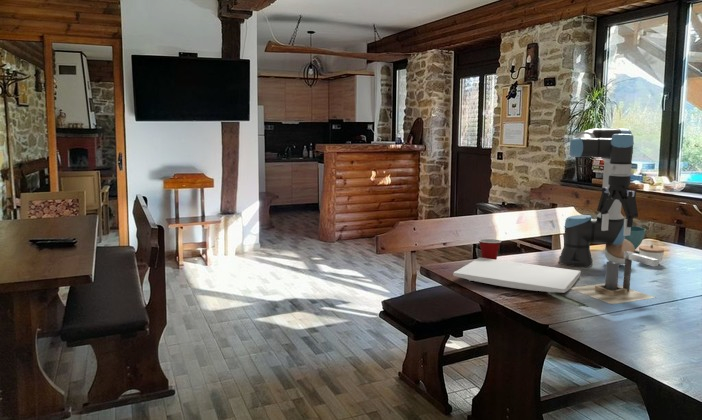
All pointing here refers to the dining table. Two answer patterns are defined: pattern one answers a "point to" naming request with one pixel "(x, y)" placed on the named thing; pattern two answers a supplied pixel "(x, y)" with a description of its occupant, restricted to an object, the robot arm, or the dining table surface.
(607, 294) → the socket plate
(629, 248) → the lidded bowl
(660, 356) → the dining table surface
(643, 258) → the latch
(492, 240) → the plastic cup
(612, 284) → the peg
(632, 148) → the robot arm
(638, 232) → the plant pot
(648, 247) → the lidded jar
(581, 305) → the pad
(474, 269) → the board
